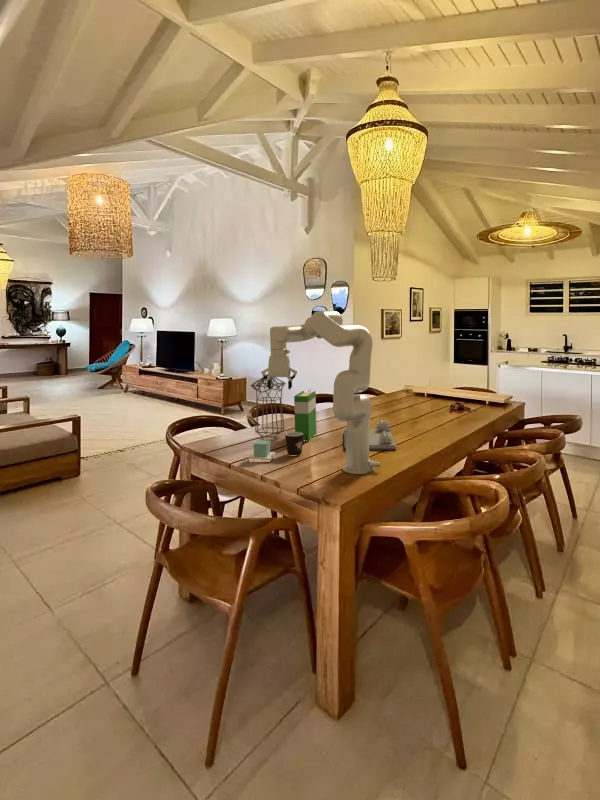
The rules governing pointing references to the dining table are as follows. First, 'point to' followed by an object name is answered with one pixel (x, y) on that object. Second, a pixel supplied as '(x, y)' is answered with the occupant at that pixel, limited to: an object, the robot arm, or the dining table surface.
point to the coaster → (263, 457)
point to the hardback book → (305, 414)
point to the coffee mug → (294, 442)
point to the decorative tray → (379, 437)
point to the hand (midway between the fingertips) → (279, 388)
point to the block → (261, 448)
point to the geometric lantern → (266, 404)
